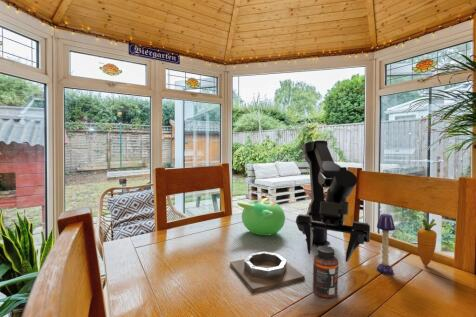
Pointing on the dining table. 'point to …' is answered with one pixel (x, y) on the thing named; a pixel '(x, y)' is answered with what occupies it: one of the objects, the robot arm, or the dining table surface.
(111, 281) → the dining table surface
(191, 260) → the dining table surface
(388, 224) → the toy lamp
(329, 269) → the supplement bottle
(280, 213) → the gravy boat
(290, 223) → the dining table surface
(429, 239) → the carrot
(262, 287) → the stand
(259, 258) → the ring
